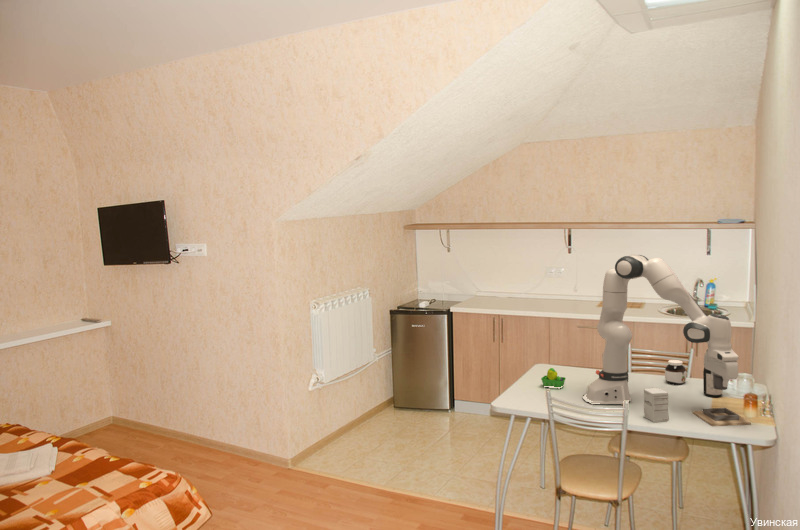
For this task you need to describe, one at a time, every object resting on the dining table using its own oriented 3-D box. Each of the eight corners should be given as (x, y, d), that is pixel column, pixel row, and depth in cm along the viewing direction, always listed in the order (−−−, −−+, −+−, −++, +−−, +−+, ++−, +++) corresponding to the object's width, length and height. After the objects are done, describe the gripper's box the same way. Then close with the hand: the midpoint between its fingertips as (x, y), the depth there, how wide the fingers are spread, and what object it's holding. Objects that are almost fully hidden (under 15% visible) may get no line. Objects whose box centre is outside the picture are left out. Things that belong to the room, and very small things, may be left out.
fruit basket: (566, 386, 296) (565, 365, 295) (561, 391, 289) (560, 369, 288) (545, 384, 302) (544, 364, 301) (540, 388, 295) (539, 367, 294)
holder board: (711, 426, 230) (711, 419, 230) (692, 413, 246) (692, 406, 246) (751, 424, 230) (750, 417, 230) (728, 412, 246) (728, 405, 246)
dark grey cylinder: (717, 390, 235) (717, 378, 235) (710, 386, 240) (710, 375, 240) (729, 389, 235) (729, 377, 235) (723, 386, 240) (722, 374, 240)
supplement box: (643, 416, 245) (643, 388, 244) (659, 415, 246) (659, 387, 245) (652, 422, 238) (652, 393, 237) (669, 421, 238) (668, 392, 238)
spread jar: (674, 386, 287) (674, 364, 287) (657, 381, 298) (656, 360, 297) (691, 383, 292) (691, 361, 292) (673, 378, 303) (672, 357, 302)
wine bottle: (725, 398, 265) (724, 335, 263) (706, 397, 267) (706, 335, 265) (719, 393, 273) (718, 332, 271) (701, 392, 275) (700, 332, 273)
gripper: (699, 347, 247) (700, 378, 248) (725, 358, 227) (726, 391, 227) (713, 346, 247) (714, 377, 248) (741, 357, 226) (741, 390, 227)
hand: (720, 384), depth 237 cm, fingers closed on dark grey cylinder, 5 cm apart
